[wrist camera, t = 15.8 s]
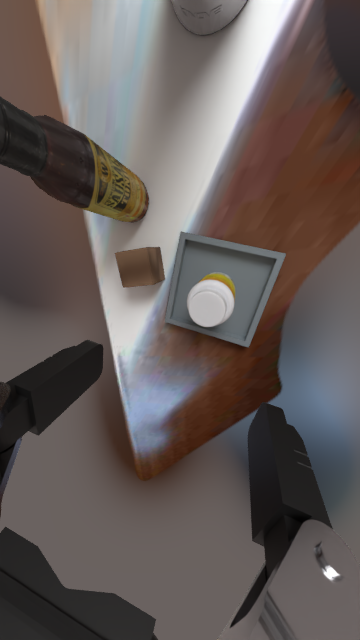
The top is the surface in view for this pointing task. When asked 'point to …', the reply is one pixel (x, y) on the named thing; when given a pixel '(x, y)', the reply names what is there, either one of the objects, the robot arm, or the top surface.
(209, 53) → the top surface
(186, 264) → the tray
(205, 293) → the supplement bottle
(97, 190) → the sauce bottle
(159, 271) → the walnut block
